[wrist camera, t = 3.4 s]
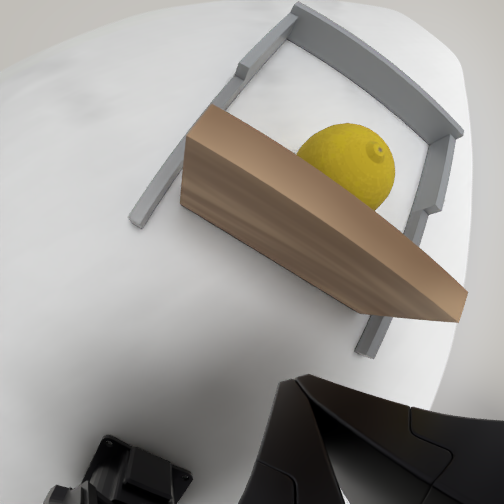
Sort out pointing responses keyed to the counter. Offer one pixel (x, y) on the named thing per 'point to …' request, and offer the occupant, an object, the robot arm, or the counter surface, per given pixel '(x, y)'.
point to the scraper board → (310, 223)
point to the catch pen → (371, 80)
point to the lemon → (353, 161)
